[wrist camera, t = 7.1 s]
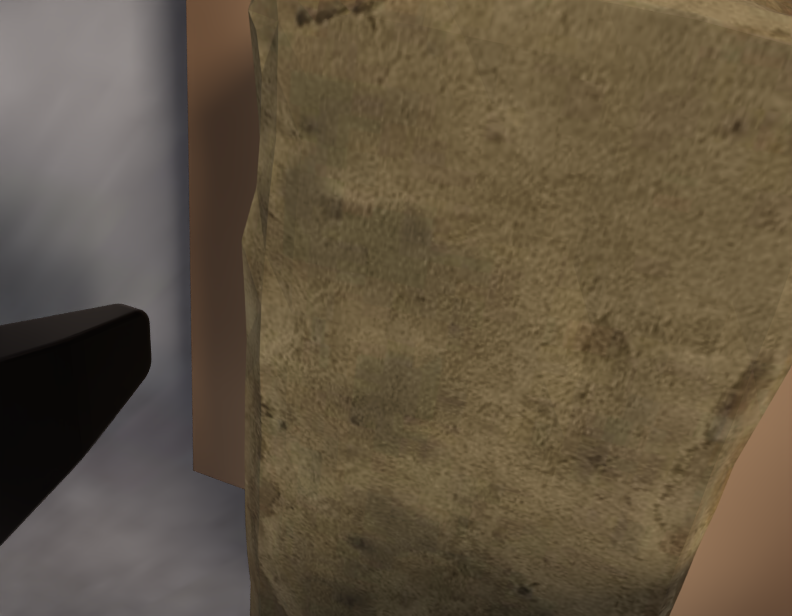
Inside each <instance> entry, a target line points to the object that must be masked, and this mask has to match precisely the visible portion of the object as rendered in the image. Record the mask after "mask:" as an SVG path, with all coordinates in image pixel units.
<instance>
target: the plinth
mask: <svg viewBox="0 0 792 616" xmlns="http://www.w3.org/2000/svg"><path fill="white" fill-rule="evenodd" d="M250 2H251V0H186V14H187V81H188V148H189V214H190V281H191V348H192V415H193V471H196V472H199V473H201V474H204V475H207V476H209V477H212V478H215V479H218V480H220V481H223V482H226V483H229V484H231V485H234V486H237V487H239V488H242V489H245V374H246V346H247V333H246V311H245V290H244V274H243V257H242V237H243V233H244V230H245V226H246V223H247V219H248V216H249V212H250V208H251V205H252V201H253V198H254V194H255V190H256V187H257V173H258V158H259V143H260V133H259V117H258V106H257V95H256V84H255V73H254V62H253V53H252V43H251V34H250V24H249V14H248V8H249V5H250ZM669 616H792V366H791V368H790V370H789V372H788V373H787V375H786V377H785V378H784V380H783V382H782V384H781V385H780V387H779V389H778V390H777V392H776V394H775V396H774V397H773V399H772V401H771V403H770V404H769V406H768V408H767V409H766V411H765V413H764V415H763V416H762V418H761V420H760V421H759V423H758V425H757V427H756V428H755V430H754V432H753V433H752V435H751V437H750V439H749V440H748V442H747V444H746V445H745V447H744V449H743V451H742V452H741V454H740V456H739V457H738V459H737V461H736V463H735V464H734V467H733V469H732V472H731V474H730V477H729V479H728V481H727V484H726V486H725V489H724V491H723V494H722V496H721V499H720V501H719V504H718V506H717V509H716V511H715V513H714V515H713V517H712V519H711V521H710V524H709V526H708V528H707V530H706V532H705V534H704V536H703V538H702V541H701V543H700V545H699V547H698V549H697V551H696V554H695V556H694V559H693V561H692V564H691V566H690V569H689V571H688V574H687V576H686V578H685V581H684V583H683V586H682V588H681V591H680V593H679V595H678V597H677V600H676V602H675V604H674V606H673V609H672V611H671V613H670V615H669Z"/></svg>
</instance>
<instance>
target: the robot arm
mask: <svg viewBox="0 0 792 616" xmlns="http://www.w3.org/2000/svg"><path fill="white" fill-rule="evenodd" d="M150 366H151V341H150V322H149V318H148V315H147V314H146V313H145V312H144V311H143V310H140V309H137V308H133V307H130V306H127V305H124V304H112V305H107V306H102V307H96V308H91V309H86V310H80V311H75V312H69V313H64V314H59V315H53V316H48V317H43V318H37V319H32V320H27V321H21V322H16V323H11V324H5V325H0V546H1V545H2V544H3V543H4V542H5V541H6V540H7V539H8V537H9V536H10V535H11V534H12V533H13V532H14V531H15V530H16V529H17V528H18V527H19V526H20V525H21V524H22V523H23V522H24V521H25V519H26V518H27V517H28V516H29V515H30V514H31V513H32V512H33V511H34V510H35V509H36V508H37V507H38V506H39V505H40V504H41V503H42V501H43V500H44V499H45V498H46V497H47V496H48V495H49V494H50V493H51V492H52V491H53V490H54V489H55V488H56V487H57V486H58V485H59V483H60V482H61V481H62V480H63V479H64V478H65V477H66V476H67V475H68V474H69V473H70V472H71V471H72V470H73V468H74V467H75V466H76V465H77V464H78V463H79V462H80V461H81V460H82V458H83V457H84V456H85V455H86V454H87V452H88V451H89V450H90V449H91V448H92V446H93V445H94V444H95V443H96V441H97V440H98V439H99V437H100V436H101V435H102V433H103V432H104V431H105V430H106V428H107V427H108V426H109V424H110V423H111V422H112V420H113V419H114V418H115V417H116V415H117V414H118V413H119V411H120V410H121V409H122V407H123V406H124V405H125V404H126V402H127V401H128V400H129V398H130V397H131V396H132V394H133V393H134V392H135V391H136V389H137V388H138V387H139V385H140V384H141V383H142V381H143V380H144V379H145V377H146V376H147V374H148V372H149V369H150Z"/></svg>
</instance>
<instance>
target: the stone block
mask: <svg viewBox="0 0 792 616" xmlns="http://www.w3.org/2000/svg"><path fill="white" fill-rule="evenodd" d="M248 14H249V24H250V34H251V43H252V53H253V62H254V73H255V84H256V95H257V106H258V117H259V133H260V143H259V158H258V173H257V187H256V190H255V194H254V198H253V201H252V205H251V208H250V212H249V216H248V219H247V223H246V226H245V230H244V233H243V237H242V257H243V274H244V290H245V311H246V333H247V346H246V374H245V521H246V540H247V555H248V564H249V573H250V581H251V592H250V616H669V615H670V613H671V611H672V609H673V606H674V604H675V602H676V600H677V597H678V595H679V593H680V591H681V588H682V586H683V583H684V581H685V578H686V576H687V574H688V571H689V569H690V566H691V564H692V561H693V559H694V556H695V554H696V551H697V549H698V547H699V545H700V543H701V541H702V538H703V536H704V534H705V532H706V530H707V528H708V526H709V524H710V521H711V519H712V517H713V515H714V513H715V511H716V509H717V506H718V504H719V501H720V499H721V496H722V494H723V491H724V489H725V486H726V484H727V481H728V479H729V477H730V474H731V472H732V469H733V467H734V464H735V463H736V461H737V459H738V457H739V456H740V454H741V452H742V451H743V449H744V447H745V445H746V444H747V442H748V440H749V439H750V437H751V435H752V433H753V432H754V430H755V428H756V427H757V425H758V423H759V421H760V420H761V418H762V416H763V415H764V413H765V411H766V409H767V408H768V406H769V404H770V403H771V401H772V399H773V397H774V396H775V394H776V392H777V390H778V389H779V387H780V385H781V384H782V382H783V380H784V378H785V377H786V375H787V373H788V372H789V370H790V368H791V366H792V0H251V2H250V5H249V8H248Z"/></svg>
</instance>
